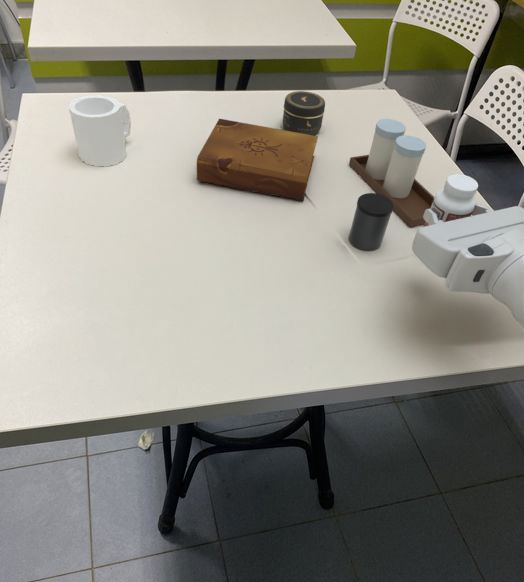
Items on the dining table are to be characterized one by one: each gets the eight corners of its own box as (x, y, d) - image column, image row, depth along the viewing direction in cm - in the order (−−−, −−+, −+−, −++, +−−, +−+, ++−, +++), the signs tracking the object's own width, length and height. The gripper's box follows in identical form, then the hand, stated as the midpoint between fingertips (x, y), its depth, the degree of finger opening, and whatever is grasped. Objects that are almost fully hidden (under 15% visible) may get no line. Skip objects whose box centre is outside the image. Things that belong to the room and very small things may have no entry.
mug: (111, 133, 116) (104, 85, 108) (145, 147, 113) (140, 99, 105) (69, 156, 108) (57, 106, 100) (105, 171, 105) (96, 122, 97)
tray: (348, 167, 115) (350, 157, 113) (383, 161, 118) (385, 151, 116) (408, 230, 100) (412, 220, 98) (446, 222, 103) (451, 212, 101)
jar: (288, 141, 120) (292, 109, 114) (276, 122, 126) (279, 91, 120) (326, 138, 123) (332, 107, 117) (312, 120, 129) (317, 89, 123)
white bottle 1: (382, 164, 115) (395, 117, 107) (396, 178, 112) (411, 130, 103) (359, 168, 113) (371, 120, 105) (373, 182, 110) (386, 134, 102)
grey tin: (369, 230, 99) (381, 190, 92) (387, 250, 95) (400, 210, 89) (341, 236, 97) (351, 196, 90) (358, 256, 93) (369, 216, 86)
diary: (196, 183, 105) (196, 158, 101) (218, 142, 117) (219, 118, 113) (302, 202, 103) (306, 178, 99) (313, 159, 116) (318, 135, 111)
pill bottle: (461, 240, 83) (489, 180, 74) (449, 258, 79) (477, 198, 71) (426, 226, 85) (449, 166, 76) (413, 244, 81) (436, 183, 73)
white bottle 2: (399, 181, 111) (415, 133, 103) (415, 196, 108) (432, 148, 99) (376, 185, 109) (390, 137, 101) (391, 200, 106) (407, 152, 97)
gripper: (571, 230, 71) (506, 179, 79) (457, 259, 65) (399, 201, 72) (548, 264, 75) (489, 213, 83) (440, 294, 69) (388, 236, 77)
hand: (447, 208), depth 78 cm, fingers closed on pill bottle, 6 cm apart
